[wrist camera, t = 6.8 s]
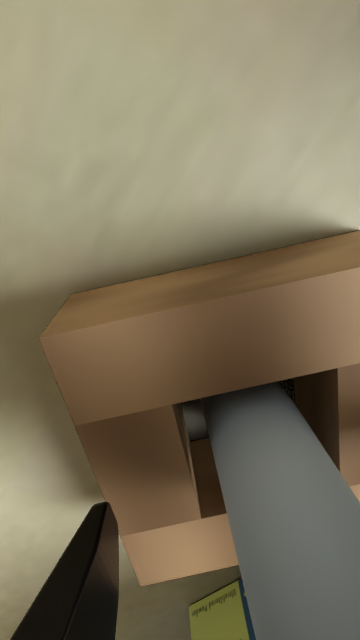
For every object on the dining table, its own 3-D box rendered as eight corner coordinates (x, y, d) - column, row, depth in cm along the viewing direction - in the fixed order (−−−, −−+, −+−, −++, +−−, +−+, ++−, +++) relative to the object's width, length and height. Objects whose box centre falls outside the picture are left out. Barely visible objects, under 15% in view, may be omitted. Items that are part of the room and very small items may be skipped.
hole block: (360, 230, 11) (446, 248, 8) (358, 452, 15) (416, 525, 12) (71, 294, 11) (38, 338, 8) (142, 500, 15) (140, 586, 12)
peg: (269, 343, 13) (500, 650, 4) (276, 406, 14) (469, 747, 5) (192, 360, 13) (271, 700, 4) (205, 422, 14) (289, 787, 5)
